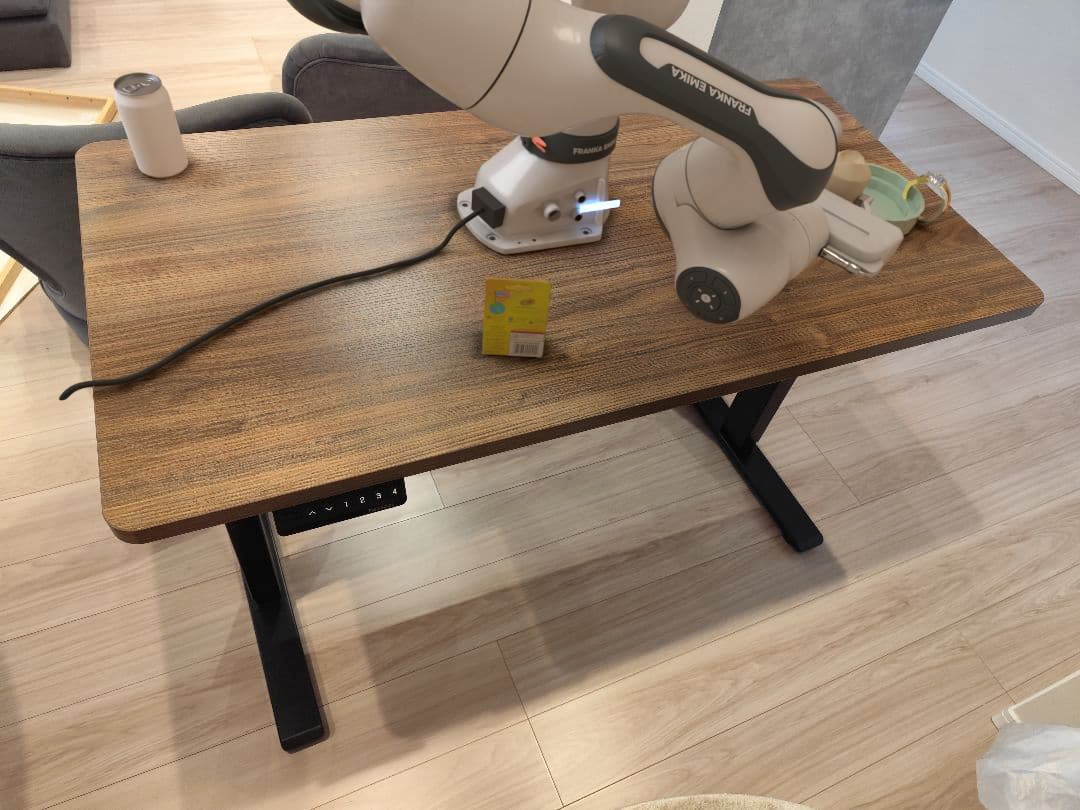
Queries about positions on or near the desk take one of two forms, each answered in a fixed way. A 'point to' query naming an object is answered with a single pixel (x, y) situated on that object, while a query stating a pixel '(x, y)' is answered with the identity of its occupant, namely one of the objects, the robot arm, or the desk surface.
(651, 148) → the desk surface
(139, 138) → the can
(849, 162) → the candle
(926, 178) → the ring
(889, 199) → the bowl
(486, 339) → the crayon box
